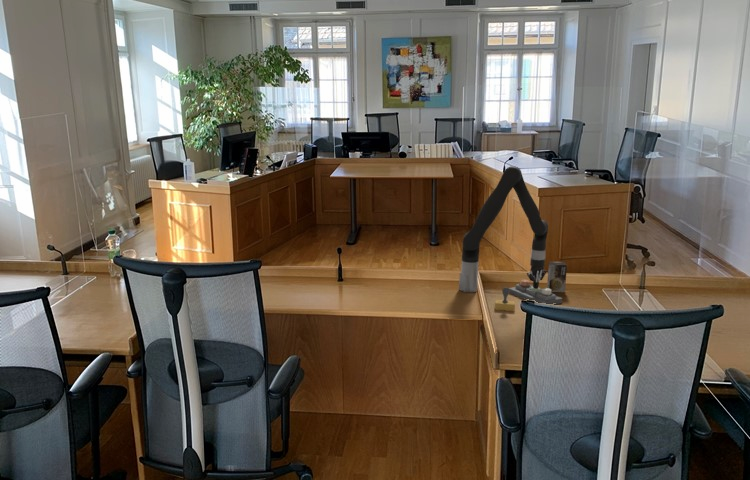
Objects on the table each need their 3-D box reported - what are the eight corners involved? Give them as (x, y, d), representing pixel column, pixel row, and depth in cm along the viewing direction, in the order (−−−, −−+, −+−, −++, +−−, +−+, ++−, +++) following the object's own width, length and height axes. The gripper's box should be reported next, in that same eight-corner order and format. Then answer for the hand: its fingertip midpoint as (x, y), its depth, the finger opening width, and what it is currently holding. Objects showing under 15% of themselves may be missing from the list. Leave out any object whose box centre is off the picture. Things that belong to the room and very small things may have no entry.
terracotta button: (524, 287, 339) (525, 283, 339) (518, 284, 344) (518, 280, 343) (531, 286, 342) (531, 281, 341) (525, 283, 346) (525, 279, 345)
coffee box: (562, 288, 352) (565, 261, 348) (565, 292, 345) (567, 265, 341) (546, 288, 353) (548, 261, 348) (548, 291, 346) (550, 264, 342)
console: (542, 307, 323) (543, 299, 322) (508, 292, 345) (509, 284, 343) (561, 302, 330) (562, 294, 329) (527, 288, 351) (527, 281, 350)
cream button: (546, 296, 326) (546, 291, 325) (539, 293, 330) (539, 288, 330) (553, 294, 328) (553, 290, 328) (546, 291, 333) (546, 287, 332)
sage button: (535, 294, 333) (535, 290, 332) (528, 291, 337) (528, 287, 337) (541, 293, 336) (542, 288, 335) (535, 290, 340) (535, 286, 339)
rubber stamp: (494, 310, 318) (496, 287, 315) (495, 306, 324) (496, 284, 321) (514, 311, 316) (516, 289, 313) (514, 307, 322) (516, 285, 319)
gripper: (541, 254, 338) (539, 284, 342) (523, 257, 331) (521, 288, 336) (552, 257, 332) (549, 288, 336) (533, 260, 325) (531, 292, 329)
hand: (535, 288), depth 336 cm, fingers closed
